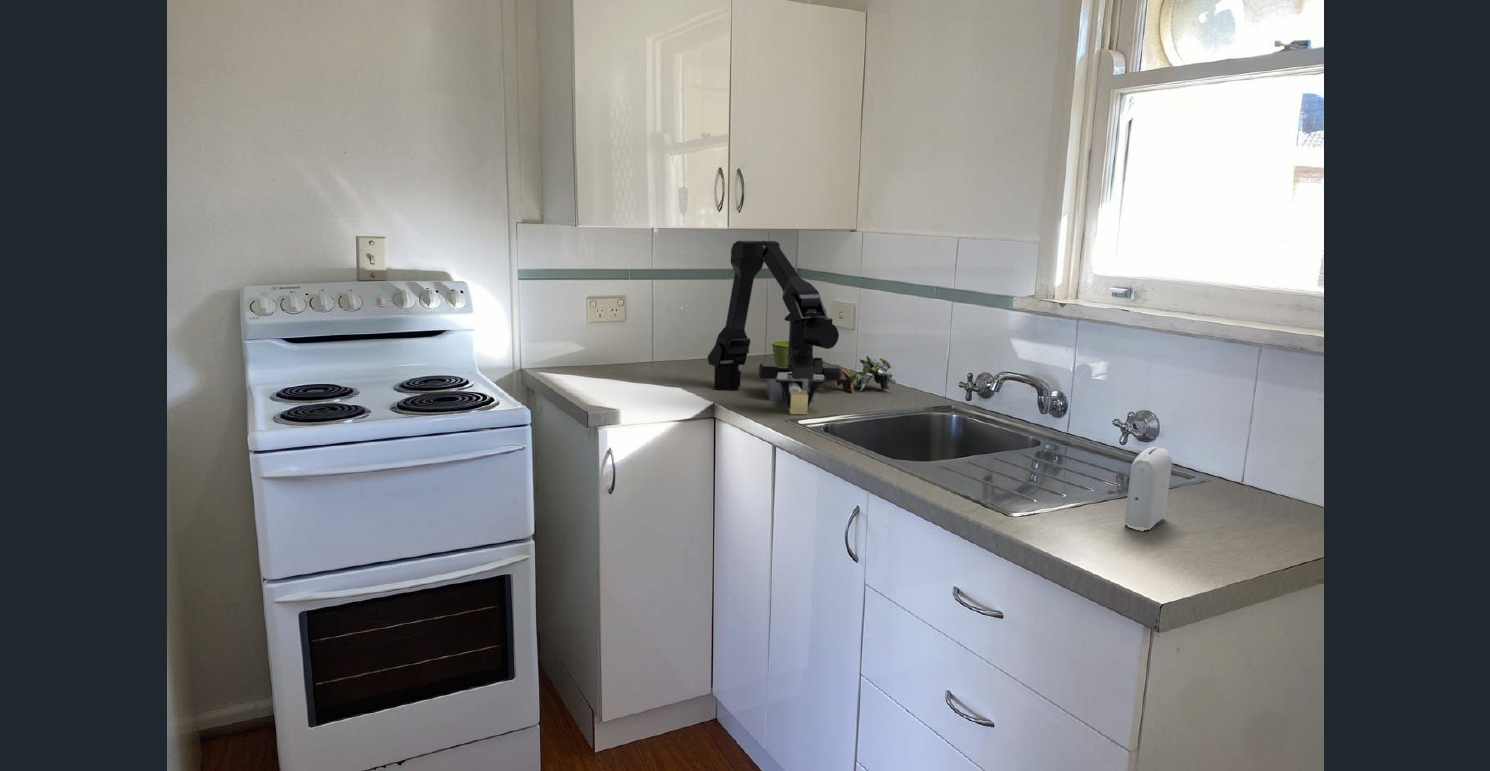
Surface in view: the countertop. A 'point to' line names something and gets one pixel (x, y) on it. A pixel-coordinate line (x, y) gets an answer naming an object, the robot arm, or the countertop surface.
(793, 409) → the end cover
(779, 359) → the plant pot
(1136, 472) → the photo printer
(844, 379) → the brown lumpy piece
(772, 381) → the housing
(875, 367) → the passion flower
